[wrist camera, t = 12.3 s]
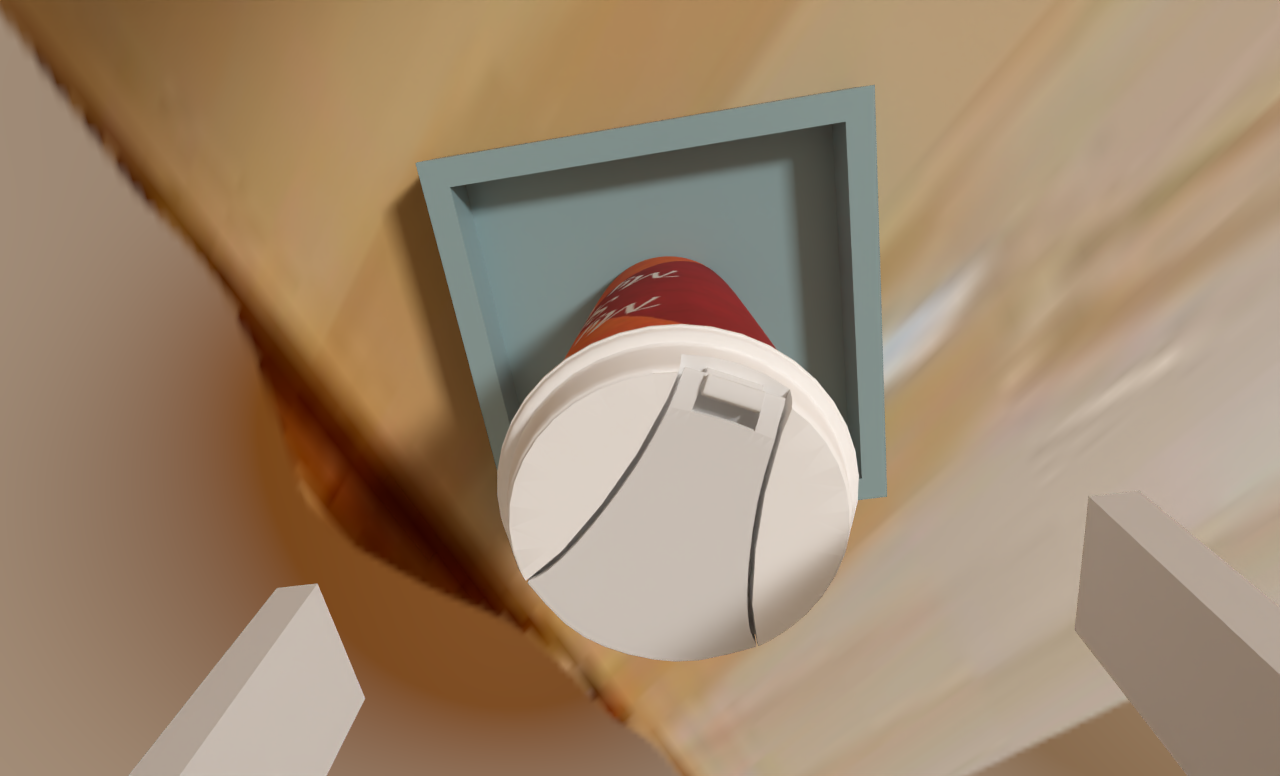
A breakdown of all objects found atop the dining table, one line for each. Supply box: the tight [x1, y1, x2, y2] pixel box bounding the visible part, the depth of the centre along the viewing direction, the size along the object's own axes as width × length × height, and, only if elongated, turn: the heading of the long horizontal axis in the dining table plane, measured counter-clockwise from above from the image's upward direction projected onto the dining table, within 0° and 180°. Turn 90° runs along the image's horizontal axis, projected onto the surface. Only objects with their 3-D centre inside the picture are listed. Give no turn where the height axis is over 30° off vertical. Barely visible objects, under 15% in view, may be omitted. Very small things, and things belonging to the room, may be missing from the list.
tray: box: [416, 85, 887, 500], centre depth 28 cm, size 16×16×3 cm
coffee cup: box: [497, 256, 859, 661], centre depth 21 cm, size 8×8×15 cm
